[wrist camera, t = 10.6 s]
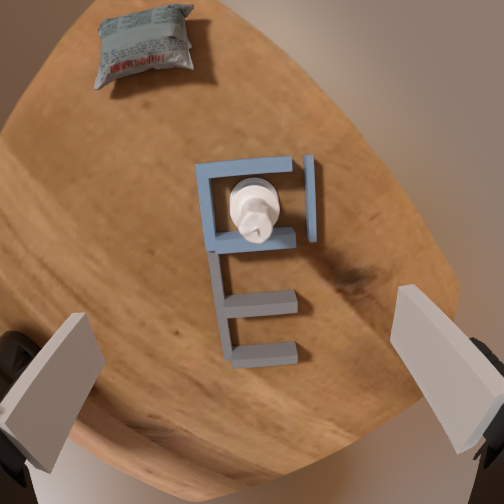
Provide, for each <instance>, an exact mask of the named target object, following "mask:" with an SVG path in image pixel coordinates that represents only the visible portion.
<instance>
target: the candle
mask: <svg viewBox="0 0 504 504" xmlns="http://www.w3.org/2000/svg"><path fill="white" fill-rule="evenodd" d="M279 212H280V207H279V200H278V194H277V192H276V190H275V188H274V187H273V185H272V184H271V183H269V182H268V181H266V180H264V179H262V178H257V177H251V178H247V179H244V180H242V181H240V182H239V183H238V184H237V185H236V186H235V187H234V188H233V190H232V192H231V195H230V215H231V218H232V220H233V222H234V224H235V225H236V226H237V227H238V230H239V232H240V234H241V235H242V236H243V237H244V238H245V239H246V240H247V241H249V242H251V243H256V244H263V243H264V242H265V241H266V240H267V239H268V238H269V237H270V236H271V234H272V231H273V226H274V224H275V223H276V221H277V219H278V217H279Z"/></svg>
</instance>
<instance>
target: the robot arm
mask: <svg viewBox="0 0 504 504" xmlns="http://www.w3.org/2000/svg"><path fill="white" fill-rule="evenodd" d="M390 342H391V343H392V345H393V347H394V348H395V350H396V351H397V353H398V354H399V356H400V357H401V359H402V360H403V362H404V364H405V365H406V367H407V368H408V370H409V372H410V373H411V375H412V376H413V378H414V380H415V381H416V383H417V384H418V386H419V388H420V389H421V391H422V393H423V394H424V396H425V398H426V399H427V401H428V403H429V404H430V406H431V408H432V409H433V411H434V413H435V415H436V416H437V418H438V420H439V422H440V423H441V425H442V427H443V429H444V430H445V432H446V434H447V436H448V438H449V439H450V441H451V443H452V445H453V447H454V449H455V451H456V453H457V454H459V453H461V452H464V451H465V450H467V449H469V448H471V447H473V446H475V445H476V443H477V442H478V441H479V439H480V438H481V437H482V435H483V436H484V437H485V439H486V442H485V443H484V444H483V445H482V447H481V448H480V449H479V450H478V452H477V453H476V454H475V456H474V458H473V460H476V459H477V458H478V456H479V455H480V454H481V457H480V460H479V461H480V462H479V466H478V470H477V474H476V478H475V482H474V485H473V489H472V492H471V495H470V499H469V501H468V504H504V364H503V363H502V362H501V361H499V360H498V358H497V357H496V356H495V355H494V354H492V351H491V350H490V349H489V348H488V347H487V346H486V345H485V344H484V343H482V342H481V341H479V340H477V339H475V338H473V337H472V338H468V337H466V335H464V333H463V332H462V331H461V330H460V329H459V328H458V327H457V326H456V325H455V324H454V323H453V322H452V321H451V320H450V319H449V318H448V317H447V316H446V315H445V314H444V313H443V312H442V311H441V310H440V309H439V308H438V307H437V306H436V305H435V304H434V303H433V302H432V301H431V300H430V299H429V298H428V297H427V296H426V295H425V294H424V293H423V292H422V291H420V290H419V289H418V288H417V287H416V286H415V285H414V284H412V285H406V286H399V287H398V294H397V301H396V308H395V314H394V320H393V326H392V332H391V337H390ZM105 363H106V362H105V360H104V357H103V355H102V353H101V350H100V348H99V346H98V343H97V341H96V338H95V336H94V333H93V331H92V328H91V326H90V323H89V320H88V318H87V315H86V313H72V314H71V315H70V316H69V318H68V319H67V320H66V321H65V322H64V323H63V324H62V326H61V327H60V328H59V329H58V330H57V331H56V333H55V334H54V335H53V336H52V337H51V338H50V340H49V341H48V342H47V343H46V345H45V346H44V347H43V348H42V349H41V350H40V348H39V347H38V346H36V345H35V344H34V343H33V342H32V341H31V340H29V339H28V338H27V337H25V336H24V335H22V334H20V333H18V332H15V331H7V332H5V333H4V334H3V335H2V336H1V337H0V504H38V501H37V498H36V495H35V492H34V488H33V484H32V481H31V477H30V473H29V470H28V467H27V466H26V465H25V464H24V463H25V461H26V459H27V460H28V461H29V462H30V463H31V464H32V465H33V466H34V467H35V468H37V469H40V470H42V471H45V472H47V473H51V472H52V469H53V467H54V464H55V462H56V460H57V458H58V456H59V453H60V451H61V449H62V447H63V445H64V442H65V440H66V438H67V436H68V434H69V432H70V430H71V428H72V426H73V424H74V422H75V420H76V418H77V416H78V414H79V412H80V410H81V408H82V406H83V404H84V402H85V400H86V398H87V396H88V394H89V392H90V390H91V389H92V387H93V385H94V383H95V381H96V379H97V377H98V376H99V374H100V372H101V370H102V368H103V366H104V365H105Z"/></svg>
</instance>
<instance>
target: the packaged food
mask: <svg viewBox="0 0 504 504" xmlns="http://www.w3.org/2000/svg"><path fill="white" fill-rule="evenodd" d="M192 9H194V6H193V5H182V4H170V5H166V6H162V7H157V8H154V9H150V10H146V11H142V12H136V13H132V14H128V15H125V16H121V17H117V18H111V19H106V20H103V22H102V23H101V25H99V26H100V29H98V33H99V37H100V38H101V62H100V67H99V71H98V75H97V78H96V81H95V85H94V89H95V90H99V89H101V88H103V87H104V86H106V85H107V84H109V83H110V82H112V81H114V80H116V79H118V78H121V77H125V76H129V75H133V74H136V73H139V72H143V71H146V70H148V69H150V68H154V69H168V68H176V67H180V68H187V69H192V70H193V69H194V68H193V64H192V61H191V58H190V53H189V48H191V47H192V45H191V43H190V41H189V40H188V35H187V31H186V26H185V23H186V20H185V18H186V17H187V16H188V15H189V14H190V13H191V11H192Z"/></svg>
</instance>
